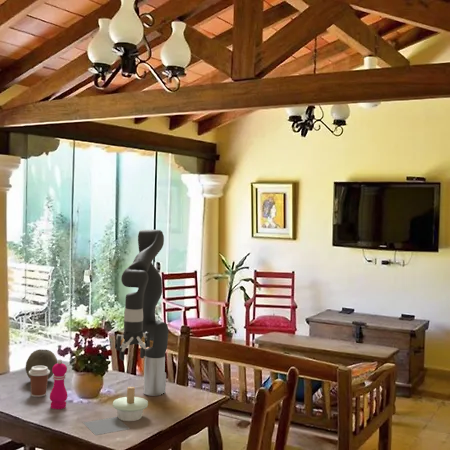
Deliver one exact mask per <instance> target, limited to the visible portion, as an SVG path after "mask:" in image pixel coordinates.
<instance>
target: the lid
mask: <svg viewBox="0 0 450 450" xmlns="http://www.w3.org/2000/svg"><path fill="white" fill-rule="evenodd" d="M135 389H136V388H135V386H127V389H126V396H123V397H119V398H115V399H114V400H113V402H112V407H113V408H114V410H116V411H117V410H121V411H139V410H143V411H144V410H145V409H147V408H148V406H149V401H148V400H147V399H146V398H143V397H140V396H136V395H135V392H136V391H135Z"/></svg>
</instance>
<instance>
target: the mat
mask: <svg viewBox="0 0 450 450" xmlns="http://www.w3.org/2000/svg"><path fill="white" fill-rule="evenodd" d="M82 424H84V426H86V428H87V429H88V430H90V431H91V433H93V434H94V435H95V436H98V435H100V436H101V435H105V434H111V433H116V432H123V431H126V430H127V431H128V430H131V428H130V427H129V426H128V425H126V424H125V422H123V420H120V419H119V418H118V416H115V417H114V416H112V417H108V418H103V419H102V418H101V419H95V420H91V421H84V422H82Z"/></svg>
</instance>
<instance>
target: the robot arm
mask: <svg viewBox="0 0 450 450" xmlns="http://www.w3.org/2000/svg"><path fill="white" fill-rule="evenodd" d="M163 233H164V232H163V231H162V230H160V229H141V230H139V232H138V234H137V244H138V254H137V255H136V256H135V257H134V259H133V261H132V263H131V264H129V266H128V267H127V268H125V269H124V271H123V272H122V275H121V279H120V280H121V284H122V285H123V286H124V287H126V288H138V289H137V291H135V292H129V293H127V294H126V295H125V301H124V303H125V304H124V305H125V308H124V314H123V315H124V316H123V318H124V319H123V334H115V343H114V344H115V345H114V349H115V350H116V351H118V352H119V356H118V357H119V359H120V360H121V361H124V362H125V353H126V352H125V351H126V349H127V348H129V346H133V345H138V346H140V349H139V351H140V352H139V357H140V358H141V359H144V371H143V373H144V374H143V375H144V376H143V394H144V395H145V396H151V397H153V396H155V397H156V396H158V397H159V396H161V394H162V395H164V394H166V389H167V388H166V387H167V382H166V381H167V372H165V369H166V368H165V366H166V365H165V364H166V363H165V362H166V352H167V349H168V343H169V342H168V340H169V327H168V324H167V323H166V322H164V321H160V320H156V308H157V304H158V303H159V301H160V299H161V297H162V295H163V280H162V276H161V274H160V272H159V271H158V269H156V267H155V265H154V264H153V261H154V259H155V258H156V257H157V256H158V254H159V253H160V252H161V250H162V249H163V246H164V242H165V236H164V234H163ZM143 338H144V342H143V341H142V339H143ZM122 340H123V341H122ZM151 341H152V347H151ZM163 393H164V394H163Z"/></svg>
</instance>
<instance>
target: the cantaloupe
mask: <svg viewBox="0 0 450 450" xmlns="http://www.w3.org/2000/svg"><path fill="white" fill-rule="evenodd" d="M57 363H58V358H57V356H56V354H55V353H53V351H51V350H49V349H36V350H34V351H33V352H32V353H30V355H29V356H28V358H27V360H26V362H25V372H26V375H27V377H28V378H29V379H30V375H29V371H30V370H31V368H32V367H34V366H46V367H48V370H50V374H48V380H50V378H52V376H53V375H54V374H53V372H52V368H53V366H54V365H55V364H57Z"/></svg>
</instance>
